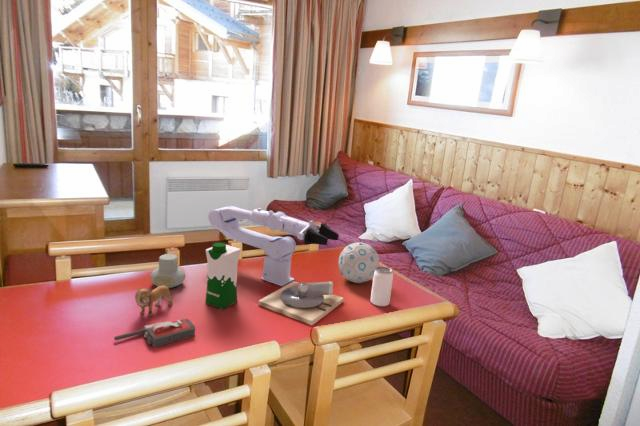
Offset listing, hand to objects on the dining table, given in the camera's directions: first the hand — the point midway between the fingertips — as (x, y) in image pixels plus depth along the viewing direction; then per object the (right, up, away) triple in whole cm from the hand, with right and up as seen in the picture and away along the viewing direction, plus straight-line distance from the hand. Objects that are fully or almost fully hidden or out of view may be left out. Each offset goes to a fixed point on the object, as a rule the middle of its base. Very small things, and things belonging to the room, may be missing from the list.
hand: (332, 239), depth 147 cm
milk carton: (-35, -20, -6) cm, 41 cm away
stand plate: (-10, -21, -1) cm, 23 cm away
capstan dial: (-9, -19, -1) cm, 21 cm away
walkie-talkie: (-48, -25, -28) cm, 61 cm away
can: (+16, -22, +4) cm, 28 cm away
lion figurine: (-53, -21, -15) cm, 59 cm away
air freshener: (-55, -16, +3) cm, 58 cm away
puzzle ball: (+10, -17, +20) cm, 28 cm away
